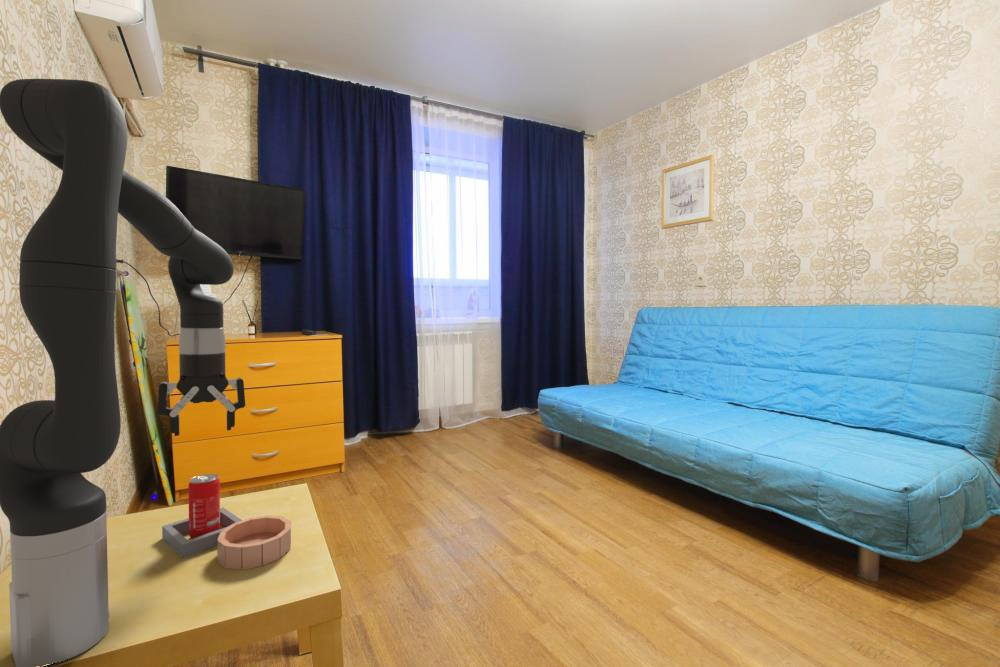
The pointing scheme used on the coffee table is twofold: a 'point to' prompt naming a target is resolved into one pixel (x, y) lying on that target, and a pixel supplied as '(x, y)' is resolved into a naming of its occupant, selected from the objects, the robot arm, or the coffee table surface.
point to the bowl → (254, 542)
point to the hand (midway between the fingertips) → (203, 432)
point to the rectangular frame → (189, 547)
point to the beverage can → (204, 505)
